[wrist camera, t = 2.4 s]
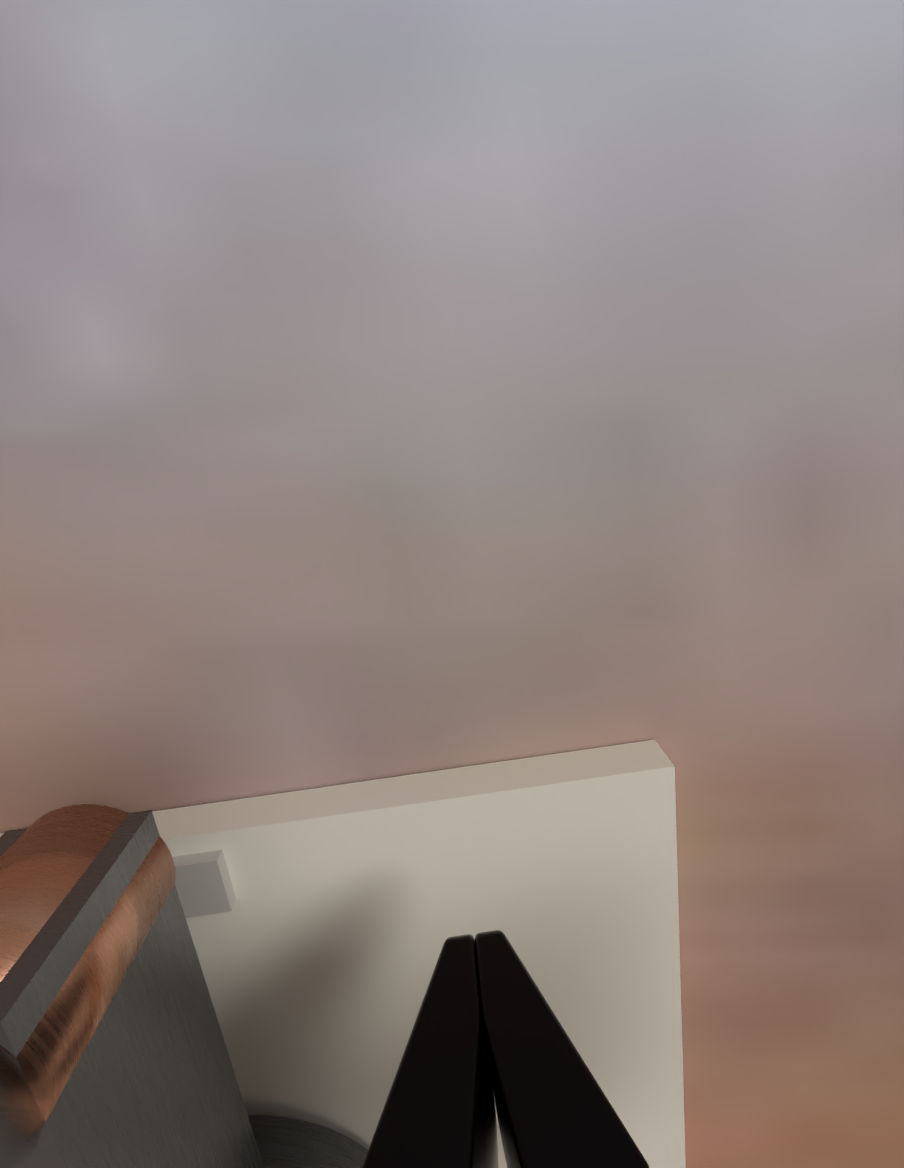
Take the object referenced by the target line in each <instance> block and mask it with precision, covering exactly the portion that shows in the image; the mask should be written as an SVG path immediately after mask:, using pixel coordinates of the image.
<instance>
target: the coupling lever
mask: <svg viewBox="0 0 904 1168" xmlns="http://www.w3.org/2000/svg"><path fill="white" fill-rule="evenodd" d="M175 878H176V873H175V865H174V860H173V857H172V855H171V852H170V850H169V849H168V847H167V845H166V843H165V842H164V841H163V839H162V838H161V837H160V835H159V832H158V829H157V826H156V823H155V819H154V816H153V813H152V810H150V811H143V812H136V813H127V812H124V811H122V810H119V809H116V808H112V807H108V806H102V805H92V804H82V805H72V806H67V807H63V808H60V809H57V810H54V811H52V812H50V813H48V814H45V815H44V816H42V817H41V818H39V819H38V820H37V821H35V822H34V823H33V824H32V825H31V826H30V827H29V828H25V829H18V830H11V831H6V832H5V833H4V834H3V835H2V836H1V837H0V1168H362V1166H363V1163H364V1160H365V1157H366V1155H367V1152H368V1150H367V1149H366V1148H364V1147H363V1146H362V1145H360V1144H359V1143H357V1142H356V1141H354V1140H352V1139H350V1138H349V1137H347V1136H345V1135H343V1134H341V1133H339V1132H337V1131H334V1130H332V1129H329V1128H327V1127H324V1126H321V1125H318V1124H314V1123H311V1122H307V1121H304V1120H298V1119H293V1118H287V1117H280V1116H268V1115H248V1114H247V1111H246V1108H245V1105H244V1102H243V1099H242V1095H241V1092H240V1089H239V1086H238V1083H237V1079H236V1076H235V1073H234V1070H233V1067H232V1064H231V1060H230V1057H229V1054H228V1051H227V1048H226V1045H225V1041H224V1038H223V1035H222V1032H221V1029H220V1026H219V1022H218V1019H217V1016H216V1013H215V1010H214V1007H213V1003H212V1000H211V997H210V994H209V991H208V987H207V984H206V981H205V978H204V975H203V972H202V968H201V965H200V962H199V959H198V956H197V953H196V949H195V946H194V943H193V940H192V937H191V934H190V930H189V927H188V924H187V921H186V918H185V915H184V911H183V908H182V905H181V902H180V899H179V895H178V892H177V889H176V886H175Z"/></svg>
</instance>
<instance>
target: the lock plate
mask: <svg viewBox="0 0 904 1168" xmlns="http://www.w3.org/2000/svg"><path fill="white" fill-rule="evenodd" d="M152 813H153V816H154V819H155V823H156V826H157V829H158V832H159V835H160V837H161V838H162V839H163V841H164V842H165V843H166V845H167V847H168V849H169V850H170V852H171V855H172V857H173V860H174V865H175V873H176V878H175V886H176V889H177V892H178V895H179V899H180V902H181V905H182V908H183V911H184V915H185V918H186V921H187V924H188V927H189V930H190V934H191V937H192V940H193V943H194V946H195V949H196V953H197V956H198V959H199V962H200V965H201V968H202V972H203V975H204V978H205V981H206V984H207V987H208V991H209V994H210V997H211V1000H212V1003H213V1007H214V1010H215V1013H216V1016H217V1019H218V1022H219V1026H220V1029H221V1032H222V1035H223V1038H224V1041H225V1045H226V1048H227V1051H228V1054H229V1057H230V1060H231V1064H232V1067H233V1070H234V1073H235V1076H236V1079H237V1083H238V1086H239V1089H240V1092H241V1095H242V1099H243V1102H244V1105H245V1108H246V1111H247V1114H248V1115H268V1116H280V1117H287V1118H293V1119H298V1120H304V1121H307V1122H311V1123H314V1124H318V1125H321V1126H324V1127H327V1128H329V1129H332V1130H334V1131H337V1132H339V1133H341V1134H343V1135H345V1136H347V1137H349V1138H350V1139H352V1140H354V1141H356V1142H357V1143H359V1144H360V1145H362V1146H363V1147H364V1148H366V1149H367V1150H368V1149H369V1147H370V1144H371V1141H372V1138H373V1136H374V1133H375V1130H376V1127H377V1125H378V1122H379V1119H380V1116H381V1114H382V1111H383V1108H384V1105H385V1103H386V1100H387V1097H388V1095H389V1092H390V1089H391V1086H392V1084H393V1081H394V1078H395V1075H396V1073H397V1070H398V1067H399V1064H400V1062H401V1059H402V1056H403V1053H404V1051H405V1048H406V1045H407V1043H408V1040H409V1037H410V1034H411V1032H412V1029H413V1026H414V1023H415V1021H416V1018H417V1015H418V1012H419V1010H420V1007H421V1004H422V1001H423V999H424V996H425V993H426V991H427V988H428V985H429V982H430V980H431V977H432V974H433V971H434V969H435V966H436V963H437V960H438V958H439V955H440V952H441V950H442V947H443V944H444V942H445V940H446V939H447V938H449V937H453V936H460V935H467V934H470V935H472V936H473V937H474V940H475V936H476V934H477V933H480V932H487V931H494V930H500V931H502V932H503V933H504V934H505V936H506V937H507V939H508V940H509V942H510V943H511V945H512V947H513V948H514V950H515V952H516V953H517V955H518V956H519V958H520V960H521V961H522V963H523V964H524V966H525V968H526V969H527V971H528V972H529V974H530V976H531V977H532V979H533V980H534V982H535V984H536V985H537V987H538V988H539V990H540V992H541V993H542V995H543V996H544V998H545V1000H546V1001H547V1003H548V1004H549V1006H550V1008H551V1009H552V1011H553V1012H554V1014H555V1016H556V1017H557V1019H558V1020H559V1022H560V1024H561V1025H562V1027H563V1028H564V1030H565V1032H566V1033H567V1035H568V1036H569V1038H570V1040H571V1041H572V1043H573V1044H574V1046H575V1048H576V1049H577V1051H578V1052H579V1054H580V1056H581V1057H582V1059H583V1060H584V1062H585V1064H586V1065H587V1067H588V1068H589V1070H590V1072H591V1073H592V1075H593V1076H594V1078H595V1080H596V1081H597V1083H598V1084H599V1086H600V1088H601V1089H602V1091H603V1092H604V1094H605V1096H606V1097H607V1099H608V1100H609V1102H610V1104H611V1105H612V1107H613V1108H614V1110H615V1112H616V1113H617V1115H618V1116H619V1118H620V1120H621V1121H622V1123H623V1125H624V1126H625V1128H626V1129H627V1131H628V1133H629V1134H630V1136H631V1137H632V1139H633V1141H634V1142H635V1144H636V1145H637V1147H638V1149H639V1150H640V1152H641V1153H642V1155H643V1157H644V1158H645V1160H646V1161H647V1163H648V1165H649V1168H686V1166H685V1130H684V1094H683V1057H682V1021H681V985H680V949H679V913H678V876H677V840H676V804H675V768H674V765H673V764H672V762H671V761H670V760H669V758H668V757H667V756H666V754H665V753H664V752H663V750H662V749H661V748H660V746H659V745H658V744H657V742H656V741H655V740H648V741H641V742H635V743H628V744H621V745H614V746H607V747H600V748H593V749H586V750H579V751H572V752H565V753H558V754H551V755H544V756H537V757H530V758H523V759H516V760H509V761H502V762H495V763H488V764H481V765H474V766H467V767H460V768H453V769H446V770H439V771H432V772H425V773H418V774H411V775H404V776H397V777H390V778H383V779H376V780H370V781H363V782H356V783H349V784H342V785H335V786H328V787H321V788H314V789H307V790H300V791H293V792H286V793H279V794H272V795H265V796H258V797H251V798H244V799H237V800H230V801H223V802H216V803H209V804H202V805H195V806H188V807H181V808H174V809H167V810H160V811H153V812H152ZM3 834H4V833H0V837H1V836H2V835H3ZM494 1099H495V1098H494ZM495 1109H496V1104H495ZM496 1120H497V1140H498V1168H507V1164H506V1159H505V1154H504V1150H503V1145H502V1140H501V1134H500V1129H499V1124H498V1118H497V1111H496Z"/></svg>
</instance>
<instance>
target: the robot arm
mask: <svg viewBox="0 0 904 1168" xmlns="http://www.w3.org/2000/svg"><path fill="white" fill-rule="evenodd" d="M494 1098H495V1099H494ZM495 1104H496V1109H495ZM496 1111H497V1118H498V1124H499V1129H500V1134H501V1140H502V1145H503V1150H504V1154H505V1159H506V1164H507V1168H649V1165H648V1163H647V1161H646V1160H645V1158H644V1157H643V1155H642V1153H641V1152H640V1150H639V1149H638V1147H637V1145H636V1144H635V1142H634V1141H633V1139H632V1137H631V1136H630V1134H629V1133H628V1131H627V1129H626V1128H625V1126H624V1125H623V1123H622V1121H621V1120H620V1118H619V1116H618V1115H617V1113H616V1112H615V1110H614V1108H613V1107H612V1105H611V1104H610V1102H609V1100H608V1099H607V1097H606V1096H605V1094H604V1092H603V1091H602V1089H601V1088H600V1086H599V1084H598V1083H597V1081H596V1080H595V1078H594V1076H593V1075H592V1073H591V1072H590V1070H589V1068H588V1067H587V1065H586V1064H585V1062H584V1060H583V1059H582V1057H581V1056H580V1054H579V1052H578V1051H577V1049H576V1048H575V1046H574V1044H573V1043H572V1041H571V1040H570V1038H569V1036H568V1035H567V1033H566V1032H565V1030H564V1028H563V1027H562V1025H561V1024H560V1022H559V1020H558V1019H557V1017H556V1016H555V1014H554V1012H553V1011H552V1009H551V1008H550V1006H549V1004H548V1003H547V1001H546V1000H545V998H544V996H543V995H542V993H541V992H540V990H539V988H538V987H537V985H536V984H535V982H534V980H533V979H532V977H531V976H530V974H529V972H528V971H527V969H526V968H525V966H524V964H523V963H522V961H521V960H520V958H519V956H518V955H517V953H516V952H515V950H514V948H513V947H512V945H511V943H510V942H509V940H508V939H507V937H506V936H505V934H504V933H503V932H502V931H500V930H494V931H487V932H480V933H477V934H476V936H475V940H474V937H473V936H472V935H470V934H467V935H460V936H453V937H449V938H447V939H446V940H445V942H444V944H443V947H442V950H441V952H440V955H439V958H438V960H437V963H436V966H435V969H434V971H433V974H432V977H431V980H430V982H429V985H428V988H427V991H426V993H425V996H424V999H423V1001H422V1004H421V1007H420V1010H419V1012H418V1015H417V1018H416V1021H415V1023H414V1026H413V1029H412V1032H411V1034H410V1037H409V1040H408V1043H407V1045H406V1048H405V1051H404V1053H403V1056H402V1059H401V1062H400V1064H399V1067H398V1070H397V1073H396V1075H395V1078H394V1081H393V1084H392V1086H391V1089H390V1092H389V1095H388V1097H387V1100H386V1103H385V1105H384V1108H383V1111H382V1114H381V1116H380V1119H379V1122H378V1125H377V1127H376V1130H375V1133H374V1136H373V1138H372V1141H371V1144H370V1147H369V1149H368V1152H367V1155H366V1157H365V1160H364V1163H363V1166H362V1168H498V1140H497V1120H496Z"/></svg>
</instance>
